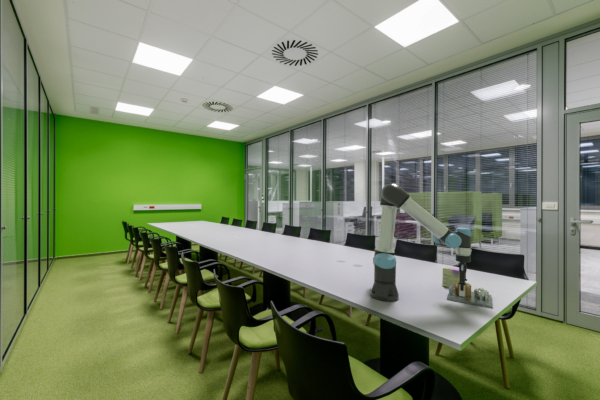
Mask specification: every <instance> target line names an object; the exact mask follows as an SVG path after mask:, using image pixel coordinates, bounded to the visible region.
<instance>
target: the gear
mask: <svg viewBox="0 0 600 400" xmlns="http://www.w3.org/2000/svg"><path fill="white" fill-rule="evenodd" d="M458 283H459V282H456V283H455V288H454V289H455V293H456V295H459V284H458ZM471 292H472V284H470V283H469V282H466V283H465V297H470V296H471Z"/></svg>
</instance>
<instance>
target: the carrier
mask: <svg viewBox="0 0 600 400" xmlns="http://www.w3.org/2000/svg"><path fill="white" fill-rule="evenodd" d="M489 293H490V292H489V291H488V290H487V289H484V288H482V287H478V288H474V289H473V291H471V296H470V297H463V296H459V295H456V293H455V288H454V285H453V284H451V285H449V287H448V293H447V296H446V300H447V301H453V302H458V303H464V304H468V305H473V306H477V307H478V306H479V307H484V308H488V309H492V308H493V301H492V294H489Z"/></svg>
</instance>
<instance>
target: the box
mask: <svg viewBox="0 0 600 400" xmlns="http://www.w3.org/2000/svg"><path fill="white" fill-rule="evenodd" d="M459 280H460V272H459V268H454V267H449V266H444V267H442V281H441V282H442V284H441V286H443V287H447V288H449V285H451V284H453V285H454V289H455V283H456V282H459Z"/></svg>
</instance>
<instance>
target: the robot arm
mask: <svg viewBox="0 0 600 400" xmlns="http://www.w3.org/2000/svg"><path fill="white" fill-rule="evenodd" d="M379 206H380V207H381V216H380V223H379V224H380V225H379V233H378V241H377V247H376V248H374V255H373V258H372V264H373V266H374V268H373V269H374V272H373V273H374V275H373V278H374V279H373V284H372V287H371V290H370V296H371V298H373V299H375V300H379V301H382V302H394V301H398V300H399V297H400V296H399V291H398V288H397V284H396V282H397V281H396V280H397V279H396V278H397V258H396V256H395V250H394V247H393V245H394V239H395V238H394V236H395V229H396V227H395V226H396V222H397V221H396V220H397V210H399V209H400V210H403V211H404V212H405V213H406V214H407V215H409V216H410V217H411V218H413V219H414V220H415V221H416V222H418V223H419V224H420V225H421V226H423V227H424V228H425V229H426V230H427V231H428V232H430V233H431V234H432V240H433V242H434V243H435V244H440V245H441V244H443V245H445V246H447V247H448V248H451V249H455V261H457V262H458V263H459V264H458V269H459V272H460V280H459V283H458V284H459V296H463V297H465V283H467V281H468V279H467V271H468V270H467V268H468V264H467V263H469V264H470V263H471V262H472V258H471V257H472V256H471V255H472V251H473V250H472V230H471V228H468V227H456V228H455V230H451V229H449V228H448V227H447V226H446V225H445V224H443V223H442V222H441V221H440V220H439V219H437V218H436V217H434V216H433V215H432V214H431V213H430V212H428V211H427V210H426V209H425V208H423V207H422V206H421V205H420V204H418V203H417V202H416V201H414V199H413V198H412V196H411V194H409V193H408V192H407V191H406V190H404V188H403V187H401V185H399V184H398V183H388V184H386V185H384V186H383V188H382V189H381V190H380V201H379Z"/></svg>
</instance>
